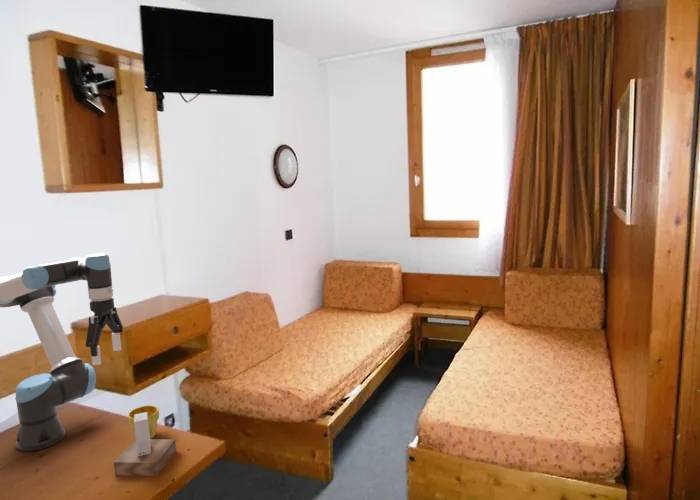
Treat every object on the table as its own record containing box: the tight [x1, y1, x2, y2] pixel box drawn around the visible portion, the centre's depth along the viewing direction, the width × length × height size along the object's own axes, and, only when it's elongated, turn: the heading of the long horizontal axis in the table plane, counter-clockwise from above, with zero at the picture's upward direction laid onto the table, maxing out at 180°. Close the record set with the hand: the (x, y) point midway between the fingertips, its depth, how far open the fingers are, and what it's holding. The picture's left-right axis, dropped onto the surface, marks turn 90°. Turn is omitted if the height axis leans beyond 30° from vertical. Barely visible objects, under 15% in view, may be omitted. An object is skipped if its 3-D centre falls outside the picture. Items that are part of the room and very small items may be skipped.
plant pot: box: [127, 404, 160, 439], centre depth 181 cm, size 10×10×10 cm
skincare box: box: [134, 412, 151, 456], centre depth 163 cm, size 6×4×12 cm
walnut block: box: [113, 438, 177, 477], centre depth 164 cm, size 14×14×5 cm
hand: (107, 357), depth 175 cm, fingers open, 13 cm apart
